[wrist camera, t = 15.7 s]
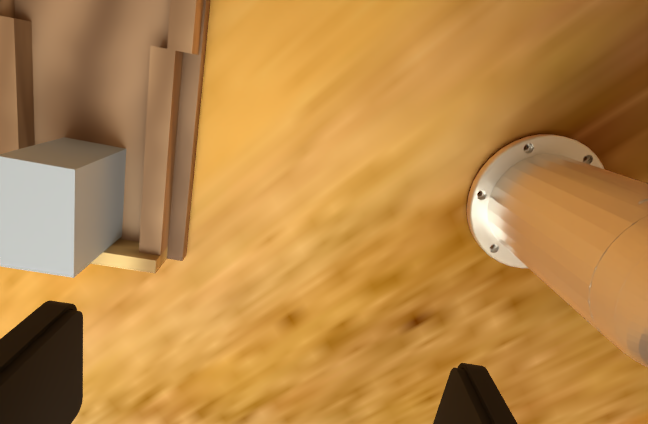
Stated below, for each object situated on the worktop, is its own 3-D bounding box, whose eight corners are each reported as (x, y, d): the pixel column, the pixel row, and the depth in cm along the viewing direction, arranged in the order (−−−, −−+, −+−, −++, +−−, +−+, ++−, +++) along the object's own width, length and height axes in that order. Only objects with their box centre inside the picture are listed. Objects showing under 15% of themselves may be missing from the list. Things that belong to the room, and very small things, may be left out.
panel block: (126, 148, 35) (74, 169, 27) (121, 236, 37) (73, 277, 30) (64, 137, 34) (-6, 155, 27) (64, 226, 37) (0, 266, 29)
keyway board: (221, -118, 30) (207, -147, 26) (186, 255, 39) (172, 275, 35) (-11, -173, 29) (-62, -212, 25) (8, 227, 38) (-27, 245, 34)
